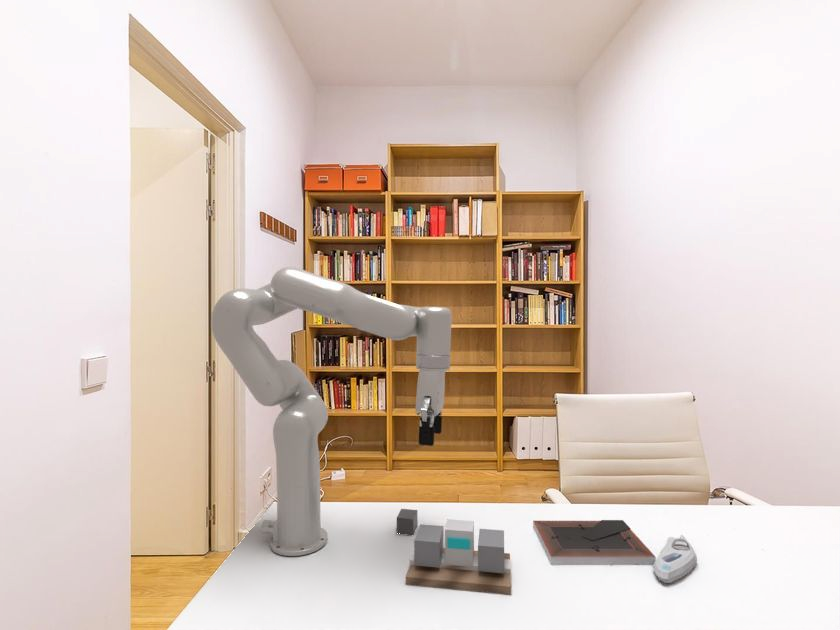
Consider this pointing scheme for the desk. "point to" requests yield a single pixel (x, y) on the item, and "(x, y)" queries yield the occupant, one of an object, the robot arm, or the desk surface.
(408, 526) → the grey rectangular block
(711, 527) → the desk surface
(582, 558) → the picture frame
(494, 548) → the mounted modules
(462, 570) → the rail board
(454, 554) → the block
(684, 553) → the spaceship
